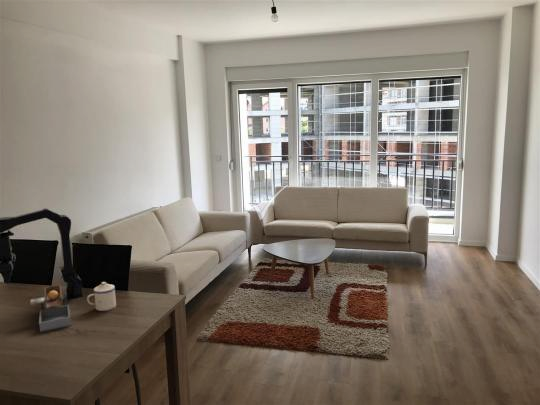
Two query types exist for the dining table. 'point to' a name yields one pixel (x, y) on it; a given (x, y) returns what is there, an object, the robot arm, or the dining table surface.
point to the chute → (49, 302)
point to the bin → (54, 318)
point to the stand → (65, 302)
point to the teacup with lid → (104, 297)
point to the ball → (53, 295)
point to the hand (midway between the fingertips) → (8, 280)
